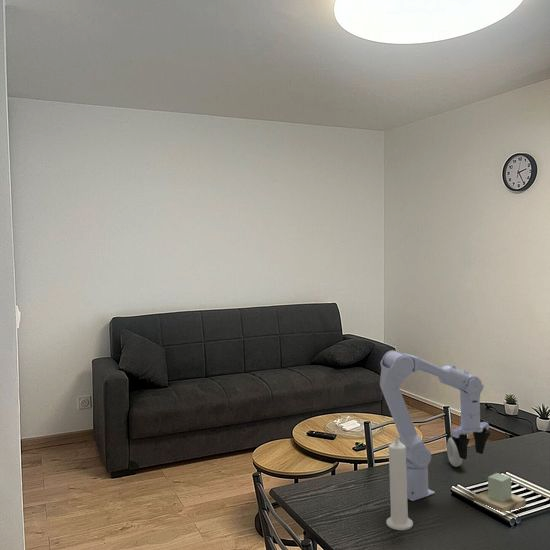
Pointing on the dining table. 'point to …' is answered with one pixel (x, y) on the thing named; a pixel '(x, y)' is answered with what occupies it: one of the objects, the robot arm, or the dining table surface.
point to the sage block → (499, 487)
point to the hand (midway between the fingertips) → (471, 455)
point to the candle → (398, 487)
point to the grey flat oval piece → (453, 453)
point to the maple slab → (504, 506)
